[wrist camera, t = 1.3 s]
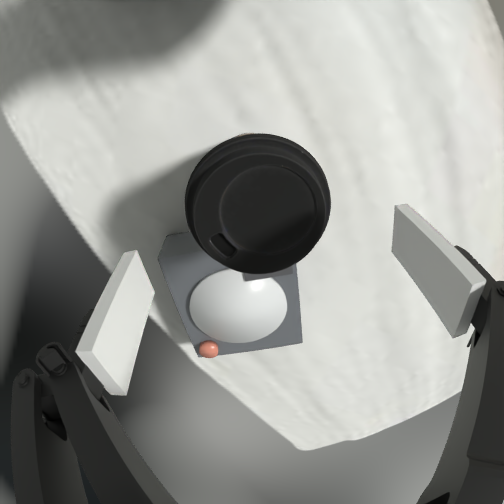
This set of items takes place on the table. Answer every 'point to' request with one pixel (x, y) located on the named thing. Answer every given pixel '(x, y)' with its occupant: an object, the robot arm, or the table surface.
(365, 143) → the table surface
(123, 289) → the robot arm
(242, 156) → the coffee cup
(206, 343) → the grey dome button box
